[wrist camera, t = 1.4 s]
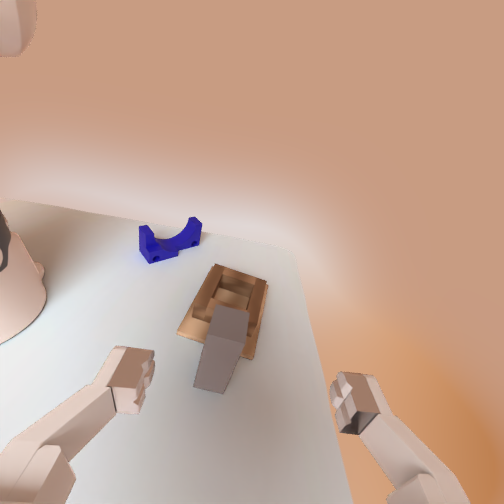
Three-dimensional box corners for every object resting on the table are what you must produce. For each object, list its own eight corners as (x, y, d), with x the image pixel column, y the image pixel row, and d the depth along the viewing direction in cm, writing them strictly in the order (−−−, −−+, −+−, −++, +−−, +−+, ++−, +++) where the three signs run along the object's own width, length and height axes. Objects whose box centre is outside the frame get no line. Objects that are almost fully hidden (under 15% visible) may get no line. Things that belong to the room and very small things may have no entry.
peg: (193, 386, 31) (206, 333, 24) (201, 358, 34) (216, 303, 27) (222, 394, 31) (245, 343, 24) (228, 364, 34) (249, 312, 27)
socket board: (176, 334, 36) (179, 316, 33) (211, 269, 49) (215, 252, 46) (252, 360, 36) (260, 343, 33) (266, 288, 49) (273, 272, 46)
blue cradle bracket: (149, 264, 46) (149, 239, 42) (139, 251, 48) (138, 226, 44) (202, 249, 54) (206, 227, 50) (191, 238, 56) (194, 216, 52)
